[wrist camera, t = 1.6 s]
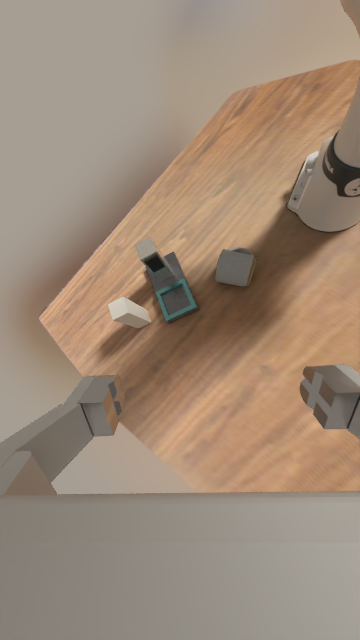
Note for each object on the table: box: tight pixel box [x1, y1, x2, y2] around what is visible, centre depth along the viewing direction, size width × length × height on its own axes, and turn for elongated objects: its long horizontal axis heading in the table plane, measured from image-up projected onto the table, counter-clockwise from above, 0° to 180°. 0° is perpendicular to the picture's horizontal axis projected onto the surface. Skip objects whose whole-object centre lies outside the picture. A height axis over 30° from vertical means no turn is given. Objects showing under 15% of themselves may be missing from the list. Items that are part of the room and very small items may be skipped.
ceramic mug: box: [215, 248, 257, 286], centre depth 45 cm, size 11×8×8 cm
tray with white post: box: [135, 237, 199, 324], centre depth 46 cm, size 18×9×14 cm, turn 22°
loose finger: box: [108, 297, 151, 328], centre depth 47 cm, size 4×4×12 cm
